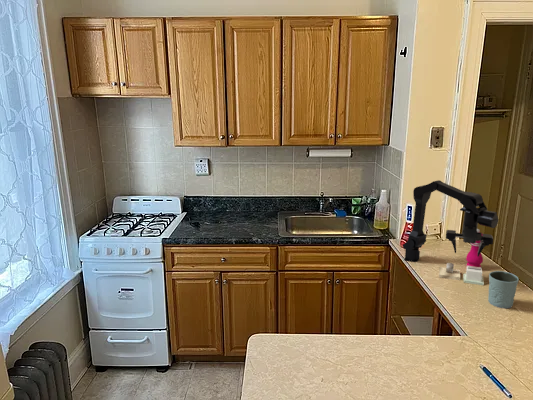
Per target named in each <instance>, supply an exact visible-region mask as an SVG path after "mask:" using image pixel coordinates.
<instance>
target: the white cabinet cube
mask: <svg viewBox="0 0 533 400" xmlns="http://www.w3.org/2000/svg"><path fill="white" fill-rule="evenodd" d="M465 269H466V270H465V271H466V272H465V274H466V280H471V281H478V282H481V279H482V276H483V269H482V266H481V267H474V266H467V267H466V268H465Z"/></svg>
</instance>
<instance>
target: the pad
mask: <svg viewBox="0 0 533 400" xmlns="http://www.w3.org/2000/svg"><path fill="white" fill-rule="evenodd" d="M462 276H463V283H466V284H472V285H478V286H484V284H485V283H484V282H485V281H484V276H483V275H482V279H481V282H478V281H471V280H466V272H465V273H463V275H462Z"/></svg>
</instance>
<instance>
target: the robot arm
mask: <svg viewBox="0 0 533 400" xmlns="http://www.w3.org/2000/svg"><path fill="white" fill-rule="evenodd" d="M436 191H437V192H439V193H441V194H443V195H446V196H448V197H451V198H453V199H455V200H457V201H459V203H460V205H462V206H463V207H461V208H460V209H459V211H461V212H464V216H463V223H462V231H461V233H458V232H456V231H457V230H453V229H447V230H445V239H446V240H448V241H449V242H450V243H451V244H452V246H453V250H454V251H453V252H454V254H457V238H459V239H462V241H463V242H464V243H465V244H466V243H469V244H470V243H472V244H474V243H476V241H480V245H479V249H478V254H477V256H479V255H480V253H481V254H482V251H483V249H484V248H485V247H486V246H487V247H488V246H489V245H493V244H494V237H493V235H492V234H489V233H482V232H481V233H479V232H477V229H478V225H480V226H484V227H487V228H492V229H495V228H497V225H498V223H499V217H498V216H499V215H497V211H491V210H488V207H487V205H486V203H485V201H484V199H483V196H482V195H481V194H480V193H476V192H472V191H465V190H461V189H459V188H457V187H455V186H453V185H450V184H448V183H445V182H443V181H441V180H439V179H437V180H434V181H431V182H430V183H427V184H424V185H420V186H416V187H414V188H413V191H412V193H413V194H412V196H413V200H414V202H415V207H414V214H413V224H412V230H411V231H410V233H409V235H408V238H407V241H406V242H405V243H404V242H403V244H402V249H404V250H405V251H404V252H405V253H404V254H405V255H404V261H407V262H414V263H418V262H419V261H420V255H421V251H420V248H422V247H423V245H425V243H426V242H427V234H425V233H424V224H425V223H424V222H425V216H426V208H427V203H428V202H429V200H430V199H431V195H432V193H434V192H436ZM489 247H490V246H489Z"/></svg>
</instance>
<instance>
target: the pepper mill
mask: <svg viewBox="0 0 533 400" xmlns="http://www.w3.org/2000/svg"><path fill="white" fill-rule="evenodd" d="M480 231H481V230H480V228H477V232H479V233H482V232H480ZM469 244H470V246H471V247H470V250H469V251H468V253H467V254H466V257H465V260H466V262H467V263H466V266H465V267H466V268H467V266H474V267H481V268H482V264H483V261H484V258H483V254H482V252H481V253H480V255H479V256H477V254H478V249H479V245H480V241H476V243H474V244H472V243H469Z"/></svg>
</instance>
